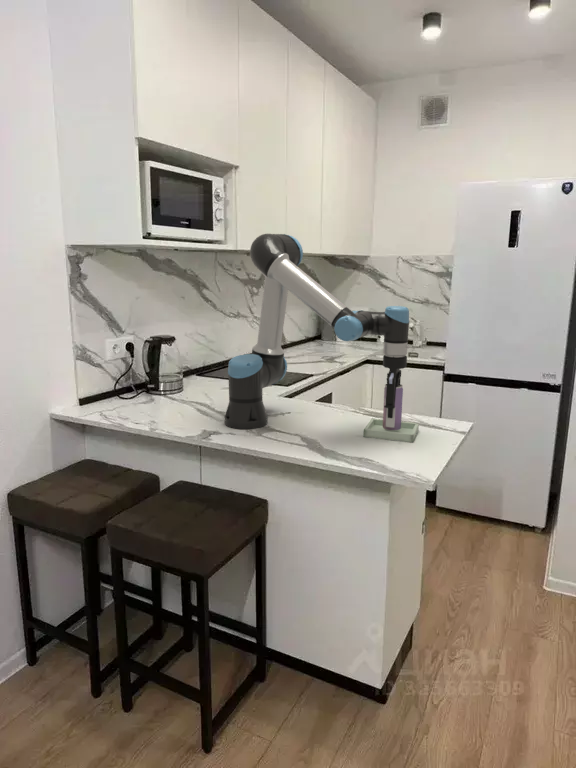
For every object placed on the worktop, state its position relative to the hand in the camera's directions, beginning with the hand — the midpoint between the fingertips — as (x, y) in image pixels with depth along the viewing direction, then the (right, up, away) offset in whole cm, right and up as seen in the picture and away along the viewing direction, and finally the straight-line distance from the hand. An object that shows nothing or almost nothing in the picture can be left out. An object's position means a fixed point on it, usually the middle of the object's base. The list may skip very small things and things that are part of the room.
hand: (391, 423), depth 182 cm
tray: (0, -3, +1) cm, 3 cm away
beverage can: (0, -2, 0) cm, 2 cm away
